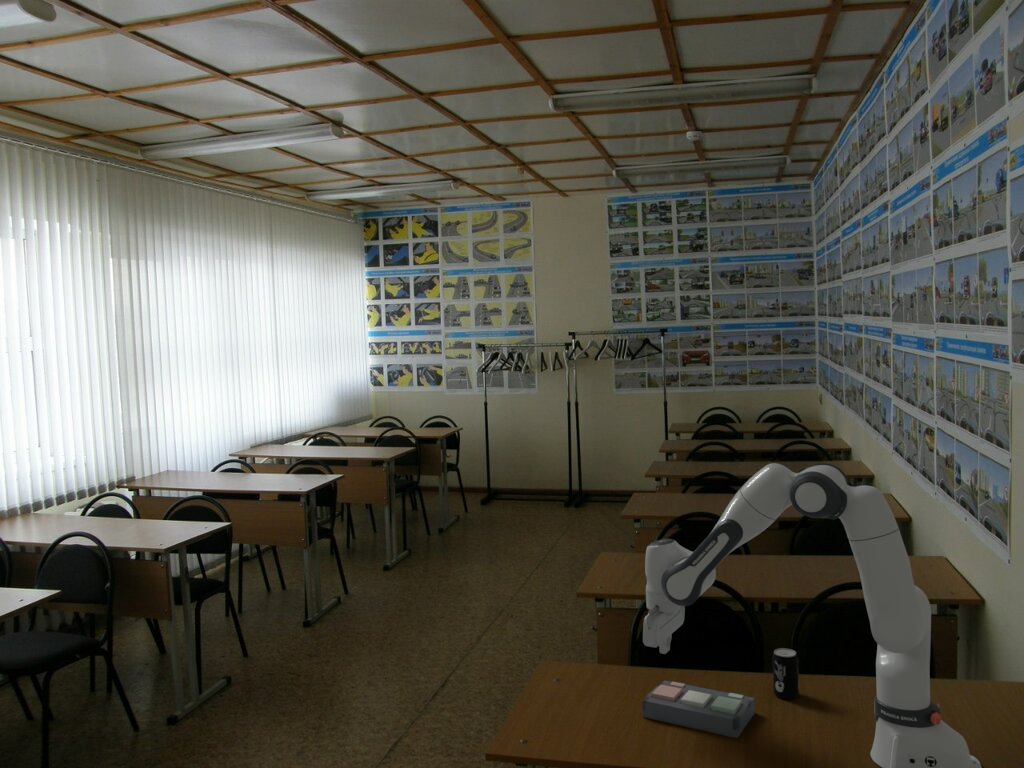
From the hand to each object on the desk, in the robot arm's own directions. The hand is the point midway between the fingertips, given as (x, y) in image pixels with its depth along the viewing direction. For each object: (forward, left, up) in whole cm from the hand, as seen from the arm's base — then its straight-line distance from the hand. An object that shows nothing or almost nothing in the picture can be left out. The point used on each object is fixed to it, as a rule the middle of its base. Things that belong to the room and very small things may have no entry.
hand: (664, 651), depth 217 cm
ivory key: (-8, 0, -13) cm, 15 cm away
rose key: (0, 0, -13) cm, 13 cm away
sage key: (-16, 0, -13) cm, 20 cm away
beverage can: (-25, -23, -16) cm, 38 cm away
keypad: (-8, -2, -16) cm, 18 cm away
